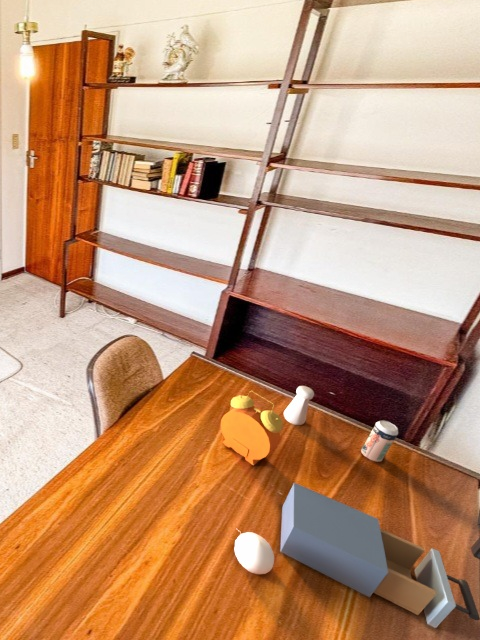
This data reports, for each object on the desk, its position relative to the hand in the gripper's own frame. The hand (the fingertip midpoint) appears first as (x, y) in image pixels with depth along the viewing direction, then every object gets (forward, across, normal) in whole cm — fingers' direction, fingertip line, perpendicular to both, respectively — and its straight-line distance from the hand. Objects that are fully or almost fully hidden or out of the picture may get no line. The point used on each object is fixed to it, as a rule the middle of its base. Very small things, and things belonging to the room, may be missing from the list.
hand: (479, 556), depth 73 cm
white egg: (+15, -12, +34) cm, 39 cm away
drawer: (+15, -1, +7) cm, 16 cm away
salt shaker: (+16, +41, +26) cm, 51 cm away
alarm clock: (+16, +19, +38) cm, 45 cm away
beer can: (+16, +38, +7) cm, 41 cm away
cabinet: (+15, -1, +20) cm, 25 cm away
